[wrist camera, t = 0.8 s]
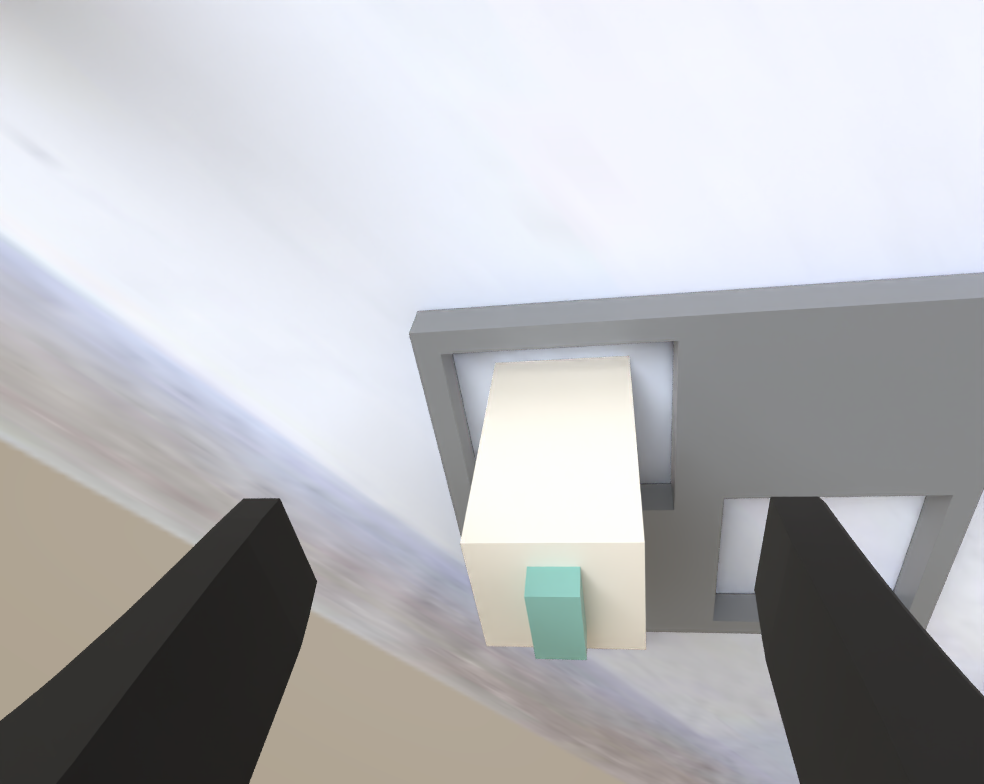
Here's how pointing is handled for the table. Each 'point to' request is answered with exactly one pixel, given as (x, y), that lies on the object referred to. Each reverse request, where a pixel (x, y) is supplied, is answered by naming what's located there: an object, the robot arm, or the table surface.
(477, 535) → the plug
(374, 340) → the table surface
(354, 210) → the table surface
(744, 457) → the socket panel
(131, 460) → the table surface
